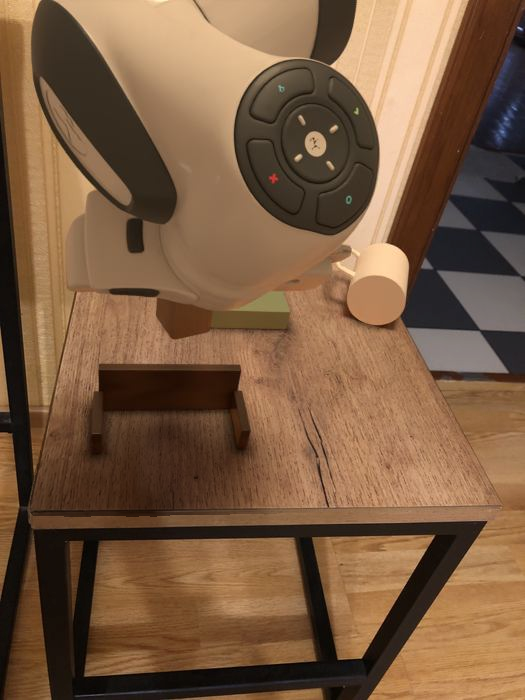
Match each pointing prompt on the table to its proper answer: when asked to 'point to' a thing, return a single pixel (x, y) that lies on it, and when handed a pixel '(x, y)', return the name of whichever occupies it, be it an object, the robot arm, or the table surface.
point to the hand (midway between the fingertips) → (185, 281)
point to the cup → (377, 283)
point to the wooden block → (182, 318)
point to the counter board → (256, 314)
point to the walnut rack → (169, 392)
